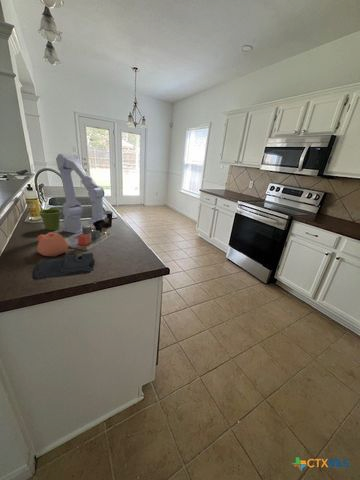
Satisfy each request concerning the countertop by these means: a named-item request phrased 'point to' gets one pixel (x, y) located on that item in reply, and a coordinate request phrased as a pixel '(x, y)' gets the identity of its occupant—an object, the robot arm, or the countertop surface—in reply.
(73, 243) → the breaker panel
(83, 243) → the red cube
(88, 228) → the breaker
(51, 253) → the sugar bowl
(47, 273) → the dark slate chunk
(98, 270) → the countertop surface
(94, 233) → the block
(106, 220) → the coffee mug
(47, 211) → the plant pot
